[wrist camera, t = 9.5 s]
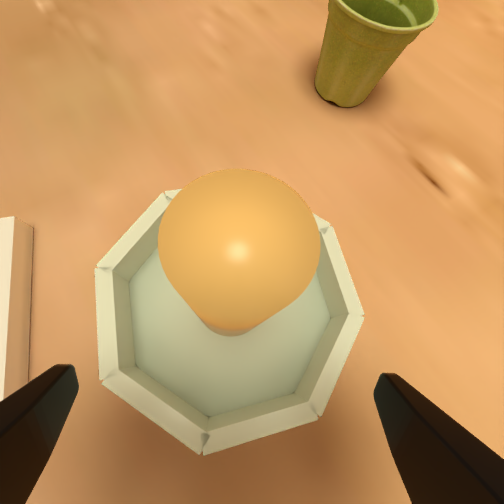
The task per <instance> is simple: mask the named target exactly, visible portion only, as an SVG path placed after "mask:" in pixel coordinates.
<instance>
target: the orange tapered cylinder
mask: <svg viewBox="0 0 504 504" xmlns="http://www.w3.org/2000/svg"><path fill="white" fill-rule="evenodd" d="M320 247H321V244H320V234H319V230H318V226H317V223H316V220H315V217H314V215H313V214H312V212H311V210H310V208H309V207H308V205H307V204H306V202H305V201H304V200H303V199H302V197H301V196H300V195H299V194H298V193H297V192H296V191H295V190H293V189H292V188H291V187H290V186H288V185H287V184H286V183H284V182H283V181H281V180H279V179H277V178H275V177H273V176H271V175H268V174H265V173H262V172H259V171H254V170H248V169H226V170H220V171H216V172H212V173H209V174H206V175H204V176H201V177H199V178H197V179H196V180H194V181H192V182H191V183H189V184H188V185H186V186H185V187H184V188H183V189H182V190H181V191H179V192H178V193H177V195H176V196H175V197H174V198H173V199H172V200H171V202H170V204H169V205H168V207H167V208H166V210H165V212H164V215H163V217H162V220H161V223H160V226H159V232H158V252H159V258H160V262H161V265H162V268H163V270H164V272H165V274H166V277H167V278H168V280H169V281H170V283H171V284H172V286H173V287H174V289H175V290H176V291H177V292H178V293H179V295H180V296H181V297H182V298H183V299H184V300H185V302H186V303H187V304H188V305H189V306H190V308H191V309H192V310H193V311H194V312H195V314H196V315H197V316H198V317H199V318H200V320H201V321H202V322H203V323H204V324H205V325H206V326H207V327H208V328H209V329H210V330H211V331H213V332H214V333H217V334H219V335H222V336H239V335H242V334H244V333H247V332H248V331H250V330H251V329H253V328H255V327H256V326H258V325H259V324H261V323H262V322H264V321H265V320H267V319H268V318H270V317H271V316H273V315H275V314H276V313H278V312H279V311H281V310H282V309H284V308H285V307H287V306H288V305H290V304H291V303H292V302H293V301H295V300H296V299H297V298H298V297H299V296H300V295H301V294H302V293H303V292H304V291H305V289H306V288H307V287H308V285H309V284H310V282H311V280H312V278H313V276H314V275H315V272H316V269H317V266H318V263H319V258H320Z"/></svg>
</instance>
